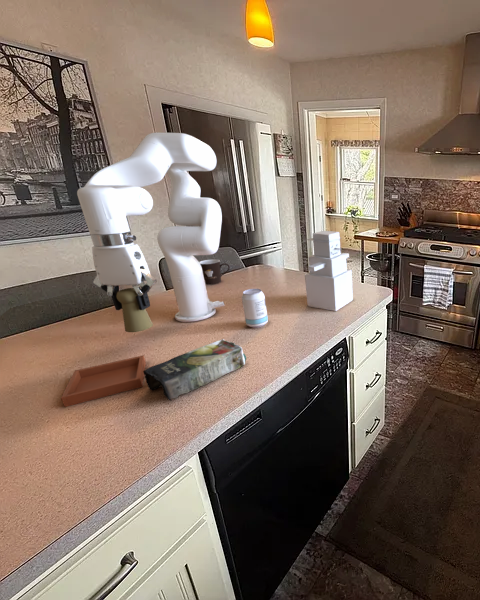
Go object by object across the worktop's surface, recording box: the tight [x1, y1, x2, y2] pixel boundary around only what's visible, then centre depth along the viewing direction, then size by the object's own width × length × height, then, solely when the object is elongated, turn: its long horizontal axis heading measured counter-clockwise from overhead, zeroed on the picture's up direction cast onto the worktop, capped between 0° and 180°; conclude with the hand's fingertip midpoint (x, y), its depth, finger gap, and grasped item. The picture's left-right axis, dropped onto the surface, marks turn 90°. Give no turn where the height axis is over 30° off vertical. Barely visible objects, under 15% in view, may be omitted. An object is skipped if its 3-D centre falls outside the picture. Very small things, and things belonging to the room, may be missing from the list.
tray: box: [60, 354, 147, 408], centre depth 79 cm, size 14×13×2 cm
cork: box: [117, 287, 154, 333], centre depth 86 cm, size 6×6×11 cm
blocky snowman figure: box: [304, 230, 354, 312], centre depth 125 cm, size 13×24×28 cm, turn 158°
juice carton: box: [143, 338, 247, 401], centre depth 81 cm, size 20×10×6 cm, turn 149°
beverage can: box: [241, 288, 269, 329], centre depth 108 cm, size 7×7×12 cm
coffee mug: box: [198, 259, 231, 285], centre depth 151 cm, size 12×9×10 cm
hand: (133, 307), depth 86 cm, fingers closed on cork, 5 cm apart
